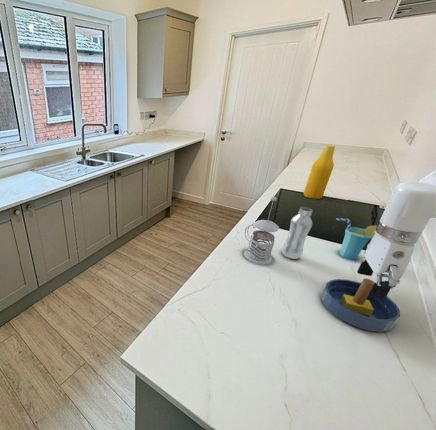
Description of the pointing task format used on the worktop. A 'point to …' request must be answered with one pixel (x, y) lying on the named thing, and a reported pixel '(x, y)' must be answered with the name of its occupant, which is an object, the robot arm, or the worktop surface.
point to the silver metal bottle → (297, 233)
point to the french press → (259, 252)
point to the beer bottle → (320, 174)
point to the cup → (355, 240)
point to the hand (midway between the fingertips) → (369, 284)
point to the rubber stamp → (359, 299)
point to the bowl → (378, 321)
